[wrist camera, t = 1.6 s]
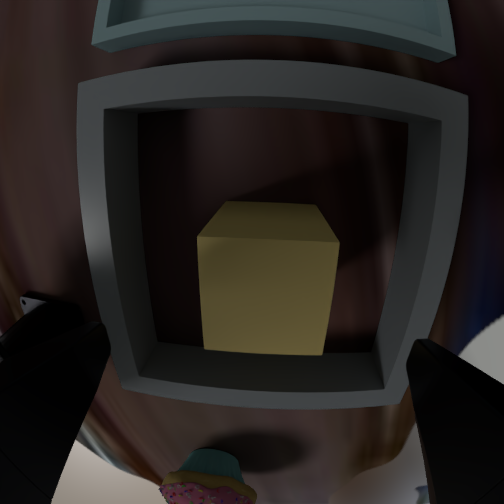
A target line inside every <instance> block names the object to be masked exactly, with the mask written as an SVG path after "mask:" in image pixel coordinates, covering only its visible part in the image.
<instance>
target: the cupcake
mask: <svg viewBox="0 0 504 504" xmlns="http://www.w3.org/2000/svg"><path fill="white" fill-rule="evenodd" d="M159 490H160V492H161V493H162V496H164V498H165V499H166V502H167V503H168V504H255V502H256V499H257V494H256V492H255V490H254V489H252V488H251V487H250V486H248V485H246V484H245V483H244V480H243V478H242V475H241V471H240V467H239V462H238V460H237V459H236V458H235V457H234V456H232V455H231V454H229V453H226V452H224V451H220V450H216V449H198V450H195V451H193V452H192V453H191V454H190V455H189V457H188V458H187V460H186V461H185V462H184V464H183V465H182V466H181V467H180V469H179V470H178V471H176V472H169V473H168V474H167V476H166V477H165V479H164V481H163V483H162V485H160V488H159Z"/></svg>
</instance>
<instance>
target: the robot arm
mask: <svg viewBox="0 0 504 504" xmlns="http://www.w3.org/2000/svg"><path fill="white" fill-rule="evenodd" d="M20 302H21V306H22V309H23V312H24V316H23V317H22V318H20V319H19V320H18V321H17V322H16V323H15V324H14V325H13V326H11V327H10V328H9V329H8V330H7V331H6V332H5V333H4V334H3V335H2V336H0V504H51V501H52V500H51V499H52V498H53V496H54V493H55V490H56V487H57V485H58V482H59V479H60V476H61V474H62V471H63V469H64V466H65V463H66V461H67V459H68V456H69V453H70V451H71V449H72V446H73V444H74V441H75V439H76V437H77V434H78V432H79V430H80V427H81V425H82V423H83V421H84V418H85V416H86V414H87V412H88V409H89V407H90V405H91V403H92V401H93V399H94V396H95V394H96V392H97V389H98V386H99V383H100V381H101V378H102V375H103V372H104V369H105V366H106V364H107V361H108V358H109V355H110V352H111V344H110V341H109V337H108V333H107V330H106V326H105V325H104V324H103V323H100V322H94V321H92V322H89V323H87V324H84V322H83V318H82V315H81V311H80V309H79V307H78V306H77V305H76V304H73V303H67V302H62V301H56V300H51V299H45V298H40V297H35V296H30V295H25V294H24V295H22V296H21V297H20ZM406 371H407V376H408V380H409V385H410V390H411V396H412V401H413V406H414V411H415V415H416V418H417V422H418V425H419V429H420V433H421V436H422V440H423V444H424V448H425V452H426V456H427V460H428V464H429V469H430V473H431V478H432V483H433V488H434V493H435V498H436V504H504V384H502V383H500V382H499V381H497V380H496V379H494V378H492V377H491V376H489V375H487V374H486V373H484V372H483V371H481V370H479V369H478V368H476V367H474V366H473V365H471V364H470V363H468V362H466V361H465V360H463V359H461V358H460V357H458V356H456V355H455V354H453V353H452V352H450V351H448V350H447V349H445V348H443V347H442V346H440V345H438V344H437V343H435V342H433V341H432V340H430V339H428V338H423V339H416V340H415V341H414V343H413V345H412V348H411V350H410V353H409V356H408V358H407V361H406Z"/></svg>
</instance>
